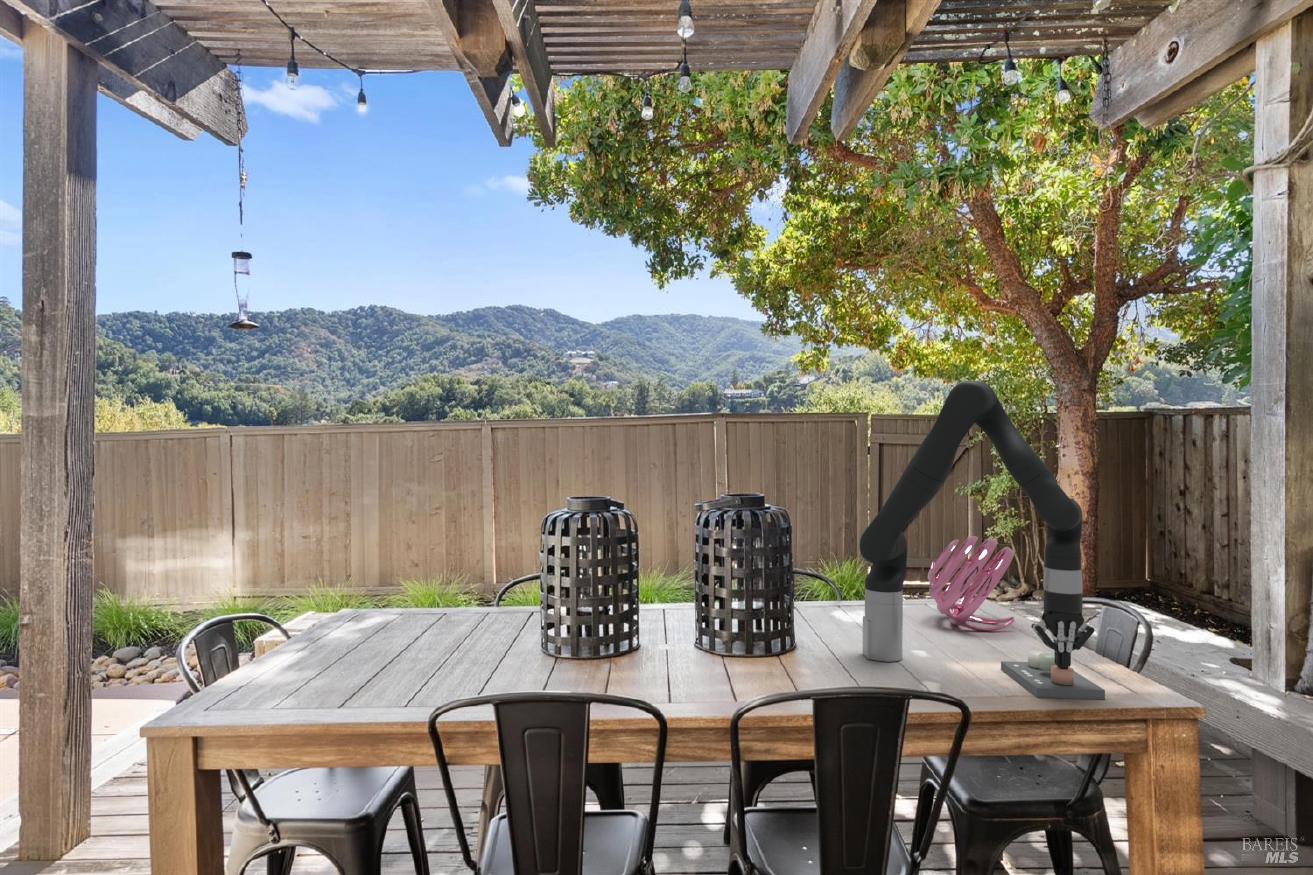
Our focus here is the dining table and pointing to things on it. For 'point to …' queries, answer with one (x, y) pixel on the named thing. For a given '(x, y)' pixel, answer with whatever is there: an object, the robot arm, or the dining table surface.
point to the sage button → (1046, 661)
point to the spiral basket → (968, 581)
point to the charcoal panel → (1051, 683)
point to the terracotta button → (1062, 675)
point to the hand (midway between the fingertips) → (1062, 668)
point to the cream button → (1034, 658)
